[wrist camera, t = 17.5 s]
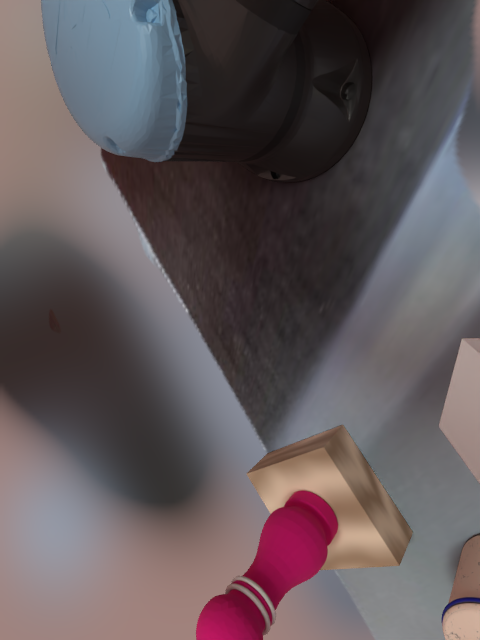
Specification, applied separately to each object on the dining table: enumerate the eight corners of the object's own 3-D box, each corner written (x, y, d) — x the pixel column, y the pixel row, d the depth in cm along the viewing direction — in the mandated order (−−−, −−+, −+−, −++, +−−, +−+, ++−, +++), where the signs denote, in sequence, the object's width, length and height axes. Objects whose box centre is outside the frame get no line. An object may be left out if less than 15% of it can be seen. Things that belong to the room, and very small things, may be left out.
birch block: (267, 453, 55) (246, 473, 51) (342, 424, 45) (323, 447, 42) (322, 543, 53) (305, 570, 49) (412, 532, 44) (399, 565, 40)
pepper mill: (354, 523, 42) (246, 716, 27) (324, 551, 46) (215, 732, 31) (302, 474, 45) (177, 626, 30) (278, 505, 49) (157, 652, 34)
